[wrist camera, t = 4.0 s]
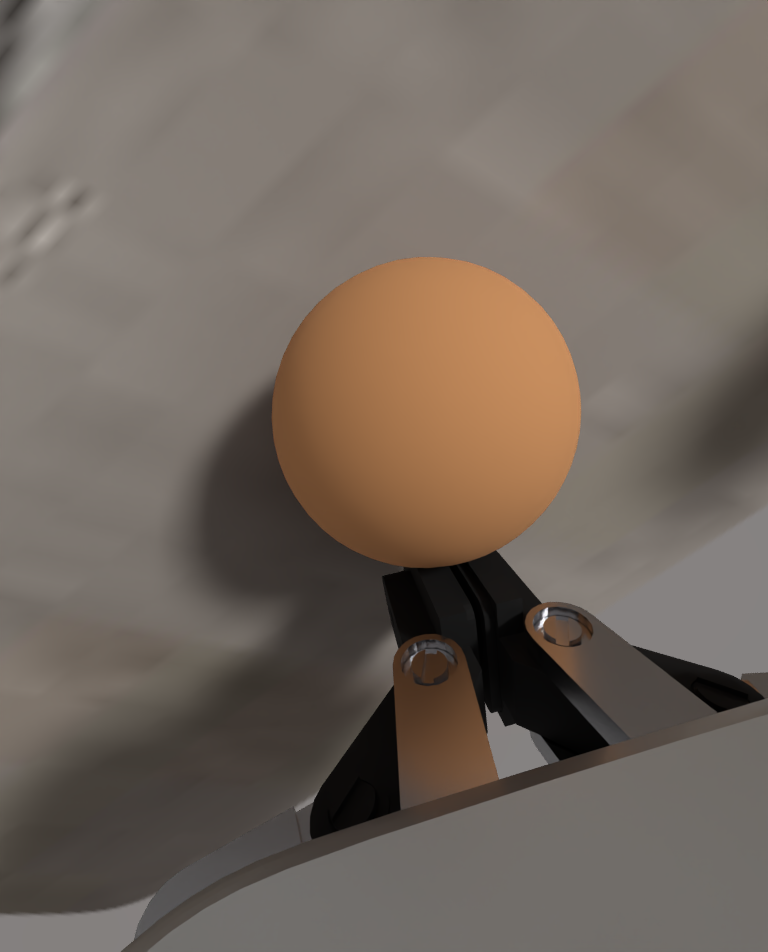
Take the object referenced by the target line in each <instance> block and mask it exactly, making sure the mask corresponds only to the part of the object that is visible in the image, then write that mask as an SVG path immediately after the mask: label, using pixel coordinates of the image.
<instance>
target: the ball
mask: <svg viewBox="0 0 768 952" xmlns="http://www.w3.org/2000/svg"><path fill="white" fill-rule="evenodd" d="M580 420H581V401H580V390H579V385H578V379H577V374H576V370H575V367H574V364H573V361H572V357H571V354H570V352H569V350H568V347H567V345H566V343H565V341H564V339H563V336H562V335H561V333H560V332H559V330H558V328H557V327H556V325H555V324H554V322H553V320H552V319H551V318H550V317H549V315H548V314H547V313H546V312H545V311H544V309H543V308H542V307H541V306H540V305H539V304H538V303H537V302H536V301H535V300H534V299H533V298H532V297H531V296H530V295H528V294H527V293H526V292H525V291H524V290H522V289H521V288H520V287H518V286H517V285H515V284H514V283H512V282H511V281H510V280H508V279H507V278H505V277H503V276H501V275H499V274H497V273H495V272H493V271H491V270H489V269H487V268H485V267H482V266H479V265H475V264H472V263H469V262H466V261H460V260H454V259H448V258H436V257H416V258H409V259H401V260H396V261H392V262H389V263H385V264H382V265H378V266H376V267H373V268H371V269H369V270H367V271H364V272H362V273H360V274H358V275H356V276H354V277H352V278H351V279H349V280H347V281H346V282H344V283H343V284H341V285H340V286H338V287H336V288H335V289H334V290H333V291H331V292H330V293H329V294H328V295H327V296H326V297H324V298H323V299H322V300H321V301H320V302H319V303H318V304H317V305H316V306H315V307H314V308H313V309H312V311H311V312H310V313H309V314H308V315H307V316H306V317H305V318H304V320H303V321H302V323H301V324H300V326H299V327H298V329H297V330H296V332H295V334H294V335H293V337H292V339H291V341H290V343H289V345H288V347H287V349H286V351H285V353H284V355H283V358H282V361H281V364H280V367H279V370H278V373H277V376H276V382H275V387H274V393H273V401H272V427H273V438H274V443H275V448H276V452H277V456H278V460H279V463H280V466H281V468H282V471H283V474H284V476H285V479H286V481H287V483H288V484H289V486H290V488H291V490H292V492H293V494H294V496H295V497H296V498H297V500H298V501H299V503H300V504H301V505H302V507H303V508H304V509H305V511H306V512H307V513H308V515H309V516H310V517H311V518H312V519H313V520H314V521H315V522H316V523H317V524H318V525H319V526H320V527H321V528H322V529H323V530H324V531H325V532H326V533H328V534H329V535H330V536H331V537H333V538H334V539H335V540H336V541H338V542H340V543H341V544H343V545H345V546H346V547H348V548H350V549H351V550H353V551H355V552H357V553H360V554H362V555H364V556H367V557H369V558H371V559H374V560H377V561H381V562H384V563H388V564H391V565H396V566H403V567H410V568H434V567H443V566H452V565H456V564H461V563H465V562H469V561H472V560H475V559H477V558H480V557H483V556H486V555H488V554H490V553H492V552H494V551H495V550H497V549H499V548H501V547H503V546H504V545H506V544H507V543H509V542H510V541H512V540H513V539H515V538H516V537H518V536H519V535H520V534H521V533H522V532H524V531H525V530H526V529H527V528H528V527H529V526H531V525H532V524H533V523H534V522H535V521H536V520H537V519H538V518H539V516H540V515H541V514H542V513H543V512H544V511H545V510H546V508H547V507H548V506H549V504H550V503H551V502H552V500H553V499H554V498H555V496H556V495H557V493H558V491H559V489H560V488H561V486H562V484H563V482H564V481H565V478H566V476H567V474H568V471H569V469H570V467H571V464H572V461H573V458H574V455H575V451H576V448H577V443H578V437H579V432H580Z"/></svg>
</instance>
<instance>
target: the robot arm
mask: <svg viewBox="0 0 768 952" xmlns="http://www.w3.org/2000/svg"><path fill="white" fill-rule="evenodd" d="M382 579H383V585H384V590H385V595H386V600H387V605H388V610H389V614H390V618H391V623H392V627H393V630H394V634H395V638H396V641H397V645H398V651H397V653H396V654H395V656H394V662H393V677H394V686H393V687H392V688H391V690H390V691H389V693H388V694H387V695H386V697H385V698H384V700H383V701H382V702H381V704H380V705H379V707H378V708H377V709H376V711H375V712H374V714H373V715H372V716H371V718H370V719H369V721H368V722H367V723H366V725H365V726H364V728H363V729H362V730H361V732H360V733H359V735H358V736H357V737H356V739H355V740H354V742H353V743H352V744H351V746H350V747H349V749H348V750H347V751H346V753H345V754H344V756H343V757H342V758H341V760H340V761H339V763H338V764H337V765H336V767H335V768H334V770H333V771H332V772H331V774H330V775H329V777H328V778H327V779H326V781H325V782H324V784H323V785H322V787H321V788H320V790H319V792H318V794H317V796H316V798H315V799H314V802H313V803H312V804H310V805H308V806H306V807H305V808H303V809H301V810H299V811H298V812H296V811H295V809H294V806H293V807H291V808H290V809H288V810H286V811H284V812H283V813H281V814H279V815H277V816H276V817H274V818H272V819H270V820H269V821H267V822H265V823H263V824H261V825H260V826H258V827H256V828H254V829H253V830H251V831H249V832H247V833H246V834H244V835H242V836H240V837H239V838H237V839H235V840H233V841H232V842H230V843H228V844H226V845H224V846H223V847H221V848H219V849H217V850H216V851H214V852H212V853H210V854H209V855H207V856H205V857H203V858H202V859H200V860H198V861H196V862H195V863H193V864H191V865H189V866H187V867H186V868H184V869H182V870H181V871H180V872H178V873H177V874H176V875H174V876H173V877H172V878H171V879H169V880H168V881H167V882H165V884H164V885H163V886H162V887H161V888H160V890H159V891H158V892H157V893H156V895H155V896H154V897H153V898H152V900H151V901H150V902H149V904H148V906H147V908H146V910H145V912H144V915H143V916H142V918H141V920H140V922H139V924H138V927H137V930H136V934H135V938H134V941H133V942H132V943H131V944H129V945H128V946H127V947H126V948H125V949H123V950H122V951H121V952H768V673H748V674H742V677H741V680H740V679H738V678H736V677H734V676H732V675H729V674H727V673H724V672H721V671H719V670H715V669H712V668H709V667H705V666H702V665H698V664H695V663H691V662H687V661H684V660H681V659H677V658H674V657H670V656H667V655H663V654H660V653H657V652H653V651H649V650H646V649H643V648H639V647H636V646H632V645H630V644H629V643H628V642H626V641H625V640H624V639H623V638H621V637H620V636H619V635H617V634H616V633H615V632H614V631H612V630H611V629H610V628H608V627H607V626H606V625H604V624H603V623H602V622H601V621H599V620H598V619H597V618H596V617H594V616H593V615H592V614H590V613H589V612H587V611H586V610H584V609H582V608H580V607H578V606H575V605H572V604H568V603H562V602H547V603H543V604H542V603H541V602H540V601H539V600H538V599H537V597H536V596H535V595H534V594H533V593H532V592H531V590H530V589H529V588H528V587H527V586H526V585H525V583H524V582H523V581H522V580H521V579H520V578H519V576H518V575H517V574H516V573H515V572H514V571H513V569H512V568H511V567H510V566H509V565H508V564H507V562H506V561H505V560H504V559H503V558H502V557H501V555H500V554H499V553H498V552H497V551H496V550H495V551H494V552H492V553H490V554H488V555H486V556H483V557H480V558H477V559H475V560H472V561H469V562H465V563H461V564H456V565H452V566H443V567H434V568H410V567H404V571H401V572H397V573H393V574H389V575H385V576H382ZM485 703H486V705H487V707H488V709H489V711H490V712H491V713H494V712H497V711H498V713H499V715H500V717H501V719H502V721H503V723H504V725H505V726H508V725H512V724H515V723H516V724H517V725H519V726H522V727H524V728H526V729H528V730H530V735H531V738H532V740H533V742H534V744H535V746H536V747H537V749H538V750H539V752H540V753H541V754H542V756H543V757H544V759H545V760H546V761H547V763H548V765H545V766H542V767H538V768H535V769H532V770H529V771H525V772H522V773H519V774H516V775H513V776H510V777H506V778H503V779H500V780H499V778H498V775H497V771H496V767H495V763H494V760H493V756H492V752H491V749H490V745H489V741H488V738H487V732H488V731H487V721H486V710H485Z"/></svg>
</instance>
